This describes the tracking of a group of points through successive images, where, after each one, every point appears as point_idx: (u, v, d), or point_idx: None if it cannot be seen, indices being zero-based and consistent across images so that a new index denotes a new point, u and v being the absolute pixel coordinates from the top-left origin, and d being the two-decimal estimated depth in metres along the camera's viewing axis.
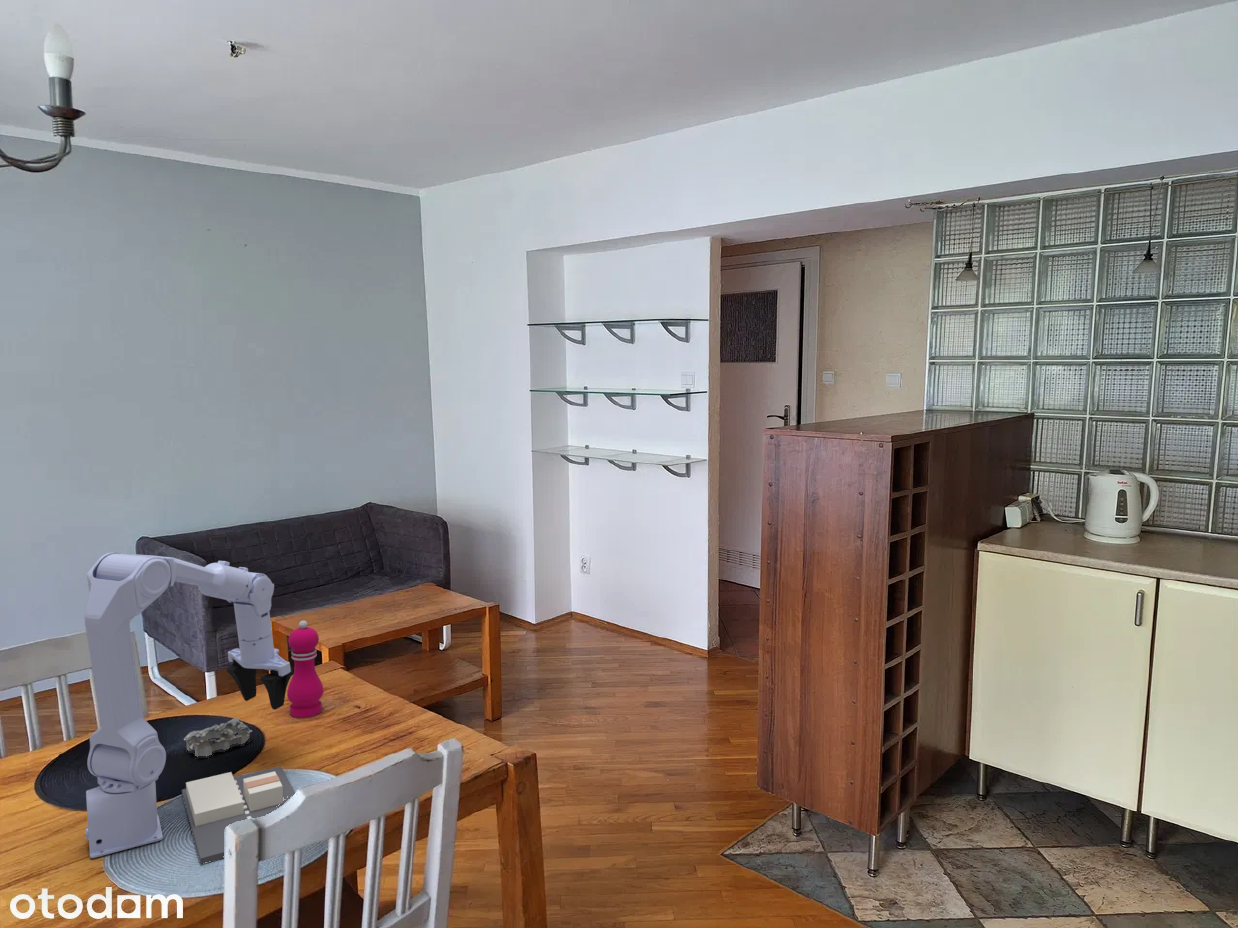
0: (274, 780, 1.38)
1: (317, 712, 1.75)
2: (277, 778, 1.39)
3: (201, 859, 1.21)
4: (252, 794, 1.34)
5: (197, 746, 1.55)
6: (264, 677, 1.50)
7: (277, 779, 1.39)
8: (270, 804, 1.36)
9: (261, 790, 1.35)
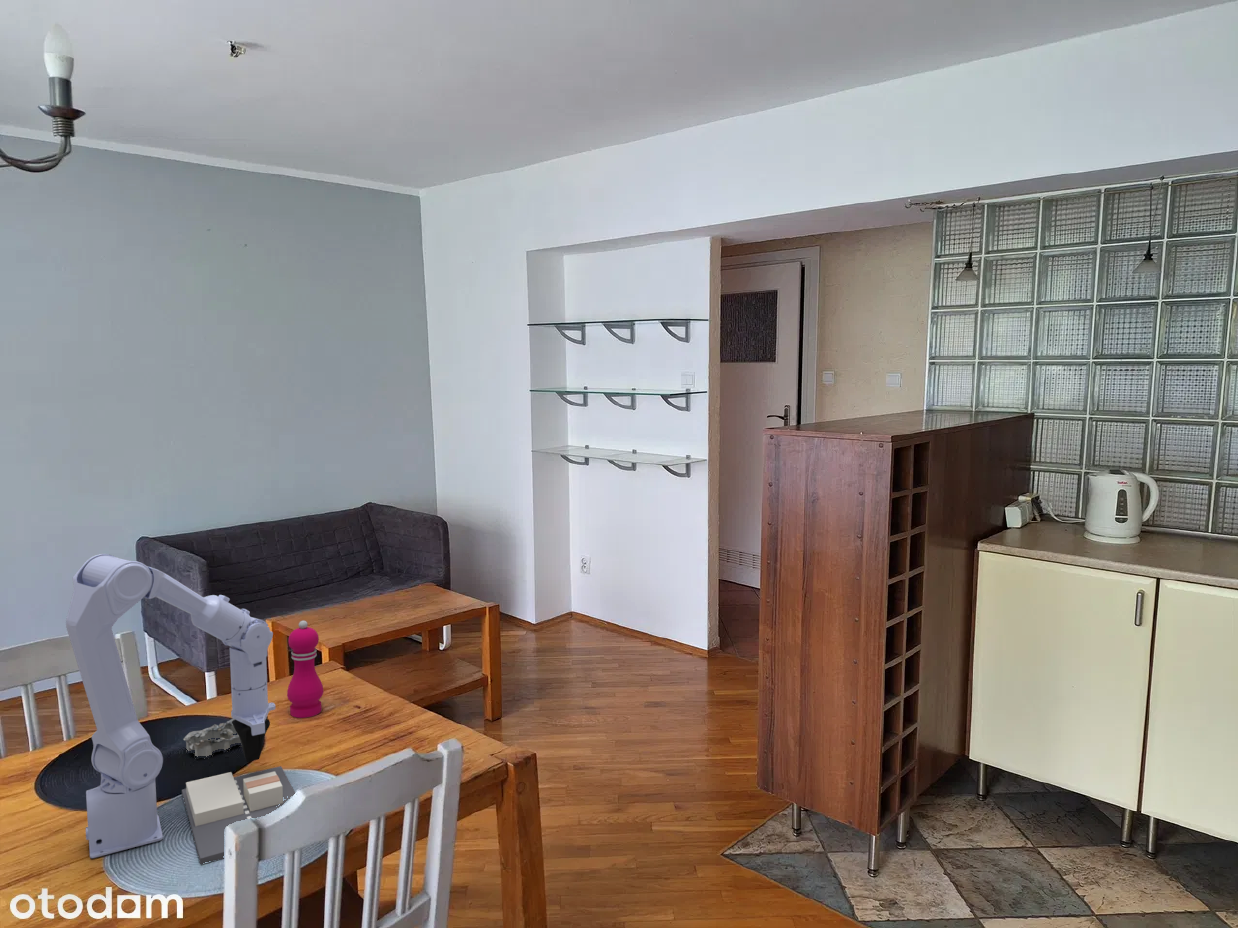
0: (274, 780, 1.38)
1: (317, 712, 1.75)
2: (277, 778, 1.39)
3: (201, 859, 1.21)
4: (252, 794, 1.34)
5: (197, 746, 1.55)
6: (236, 724, 1.43)
7: (277, 779, 1.39)
8: (270, 804, 1.36)
9: (261, 790, 1.35)
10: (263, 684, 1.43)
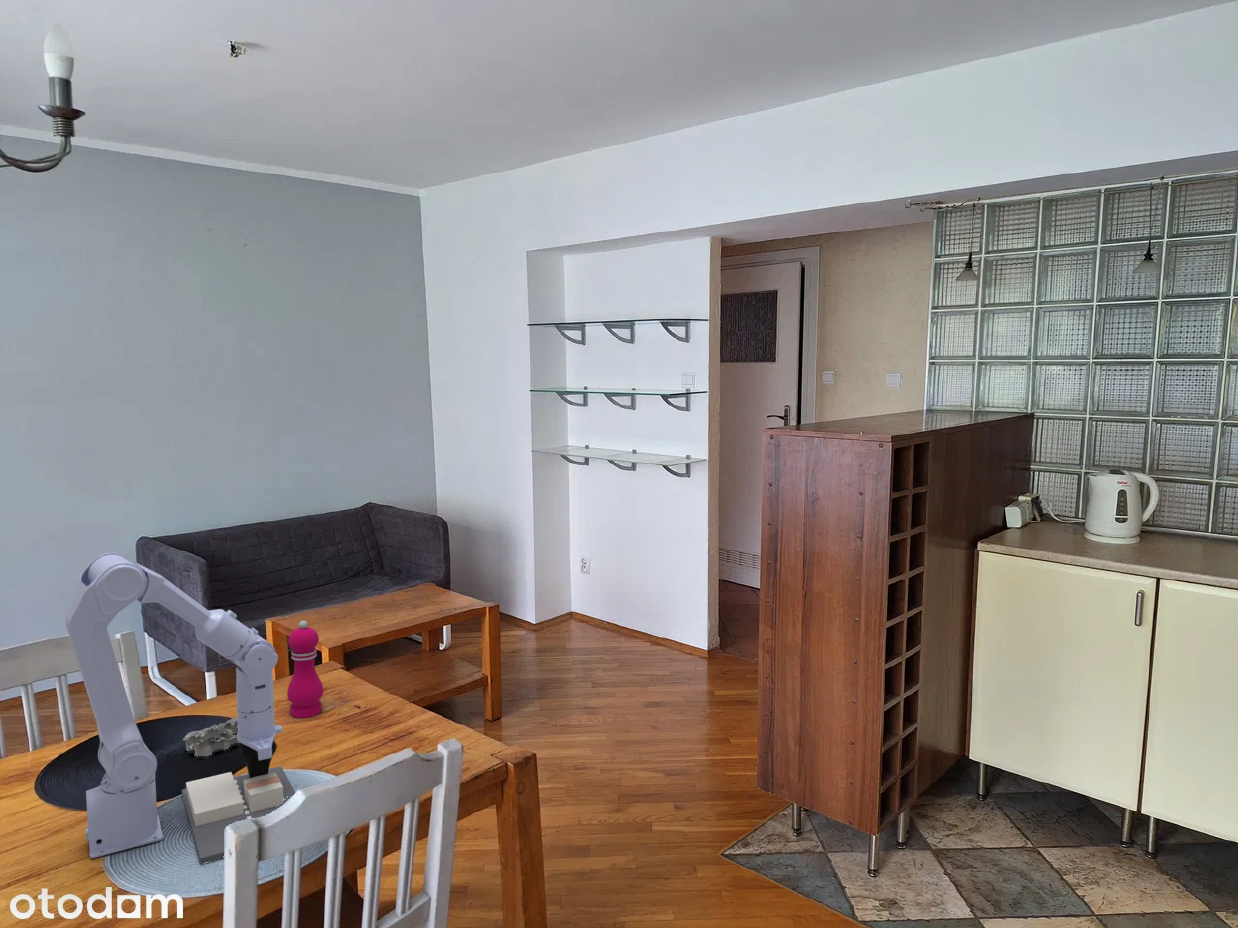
0: (274, 781, 1.38)
1: (317, 712, 1.75)
2: (277, 779, 1.39)
3: (201, 859, 1.21)
4: (252, 795, 1.34)
5: (197, 746, 1.55)
6: (242, 748, 1.39)
7: (277, 780, 1.38)
8: (270, 805, 1.36)
9: (262, 791, 1.35)
10: (267, 708, 1.38)
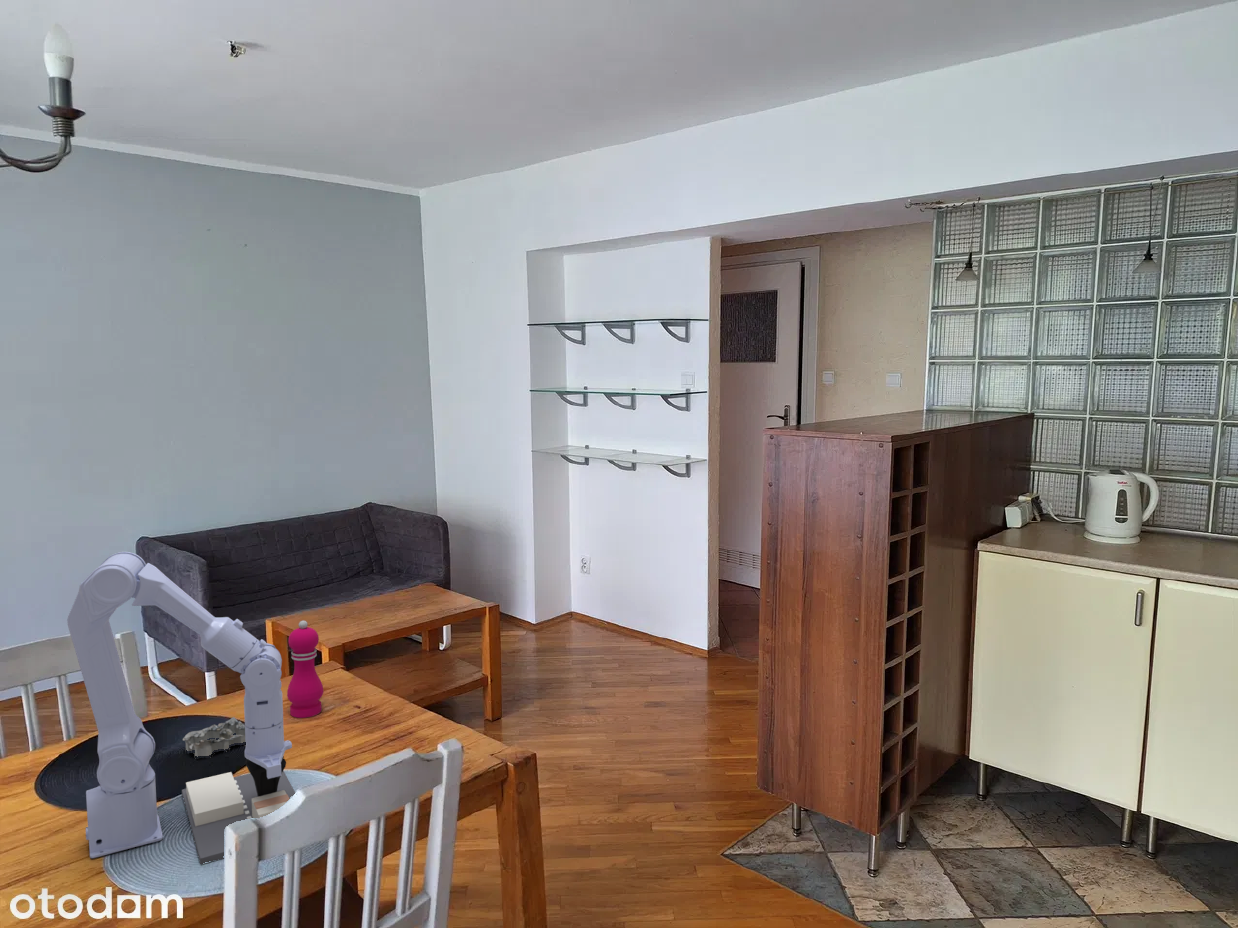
0: (284, 800, 1.32)
1: (317, 712, 1.75)
2: (287, 797, 1.33)
3: (201, 859, 1.21)
4: (261, 815, 1.28)
5: (197, 746, 1.55)
6: (250, 765, 1.33)
7: (287, 799, 1.32)
8: None
9: (271, 810, 1.29)
10: (269, 725, 1.32)
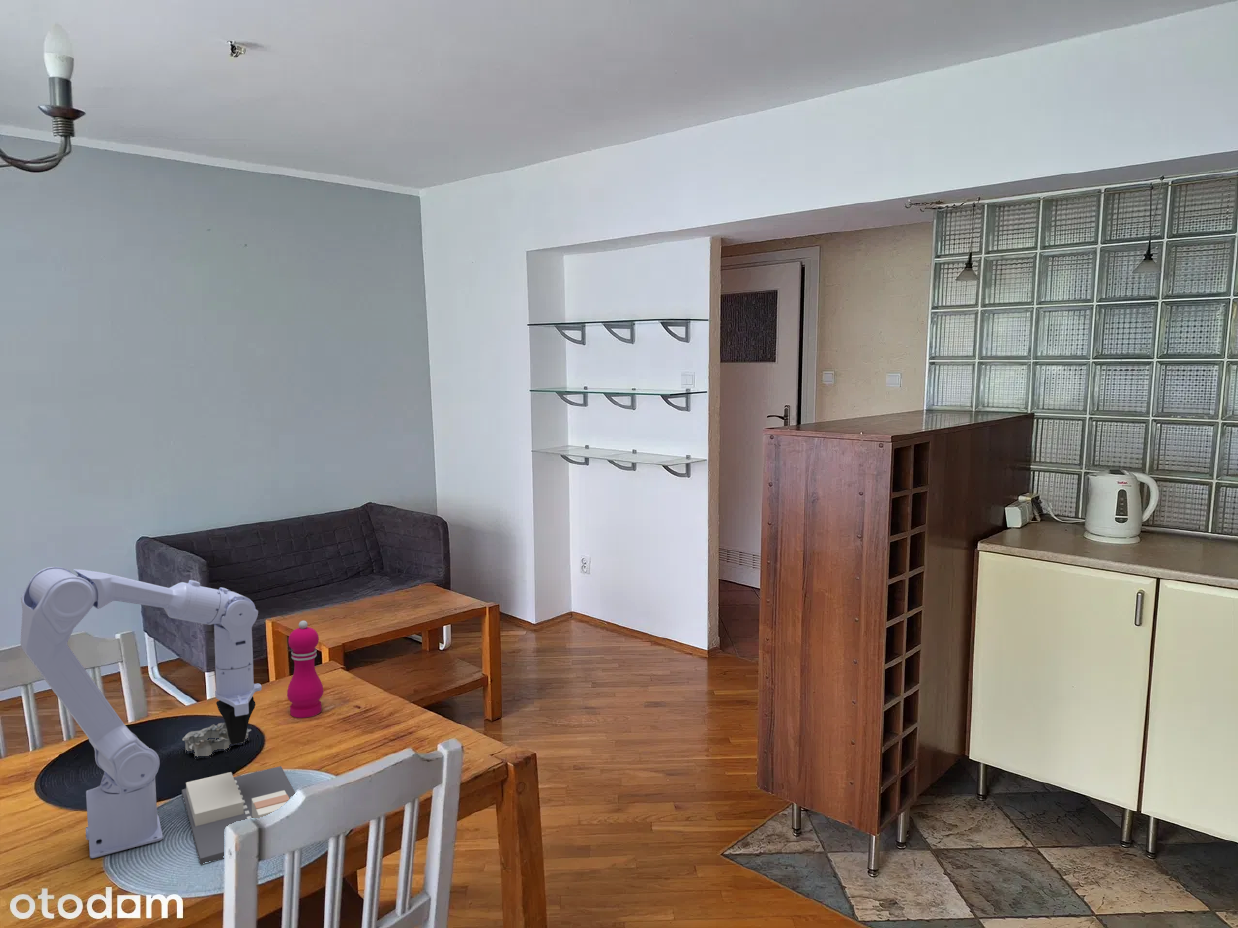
0: (284, 800, 1.32)
1: (317, 712, 1.75)
2: (287, 798, 1.32)
3: (201, 859, 1.21)
4: (261, 815, 1.28)
5: (197, 746, 1.55)
6: (220, 705, 1.37)
7: (287, 799, 1.32)
8: None
9: (271, 810, 1.29)
10: (247, 664, 1.37)
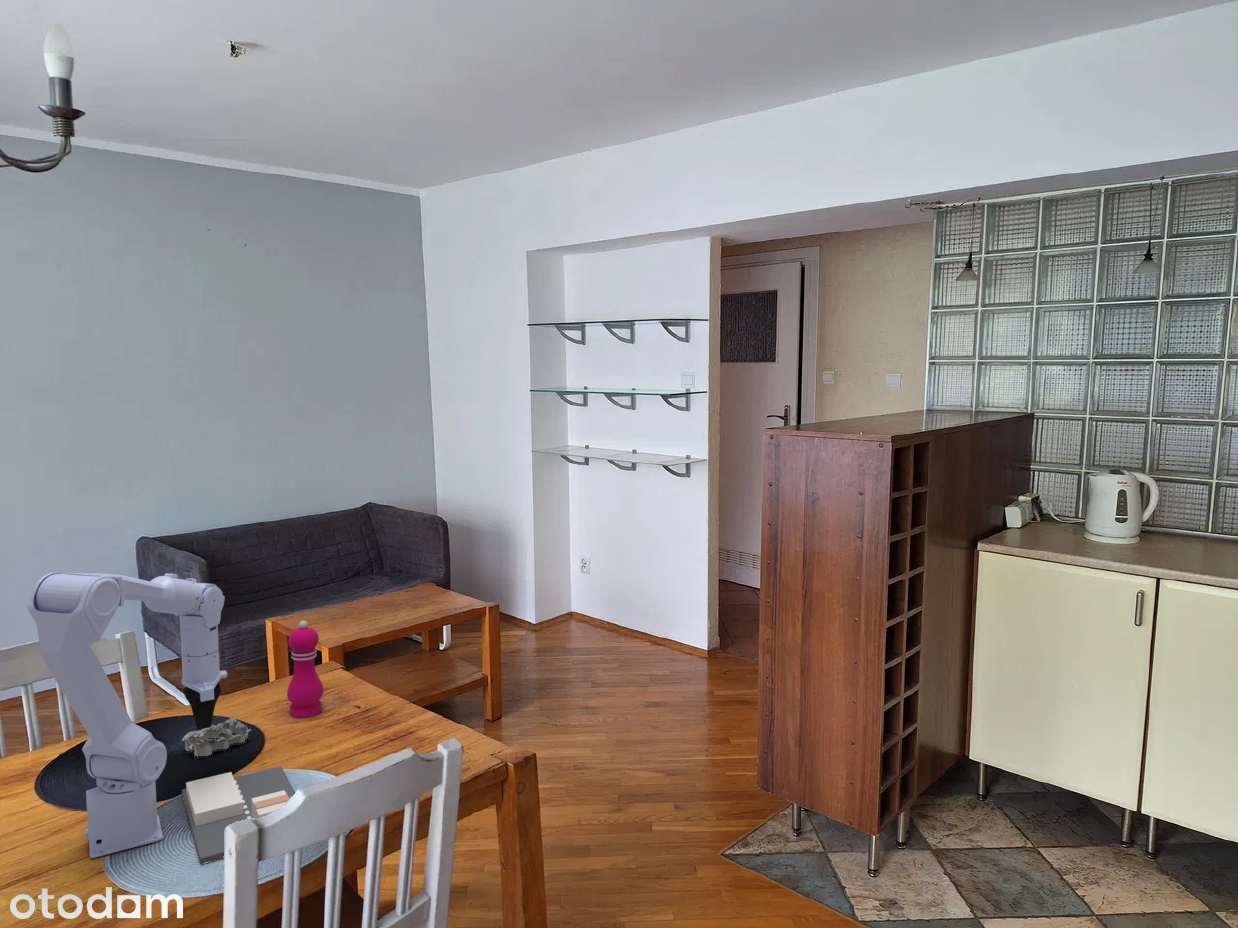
0: (284, 800, 1.32)
1: (317, 712, 1.75)
2: (287, 798, 1.32)
3: (201, 859, 1.21)
4: (261, 815, 1.28)
5: (197, 746, 1.55)
6: (187, 691, 1.41)
7: (287, 799, 1.32)
8: None
9: (271, 810, 1.29)
10: (217, 649, 1.43)
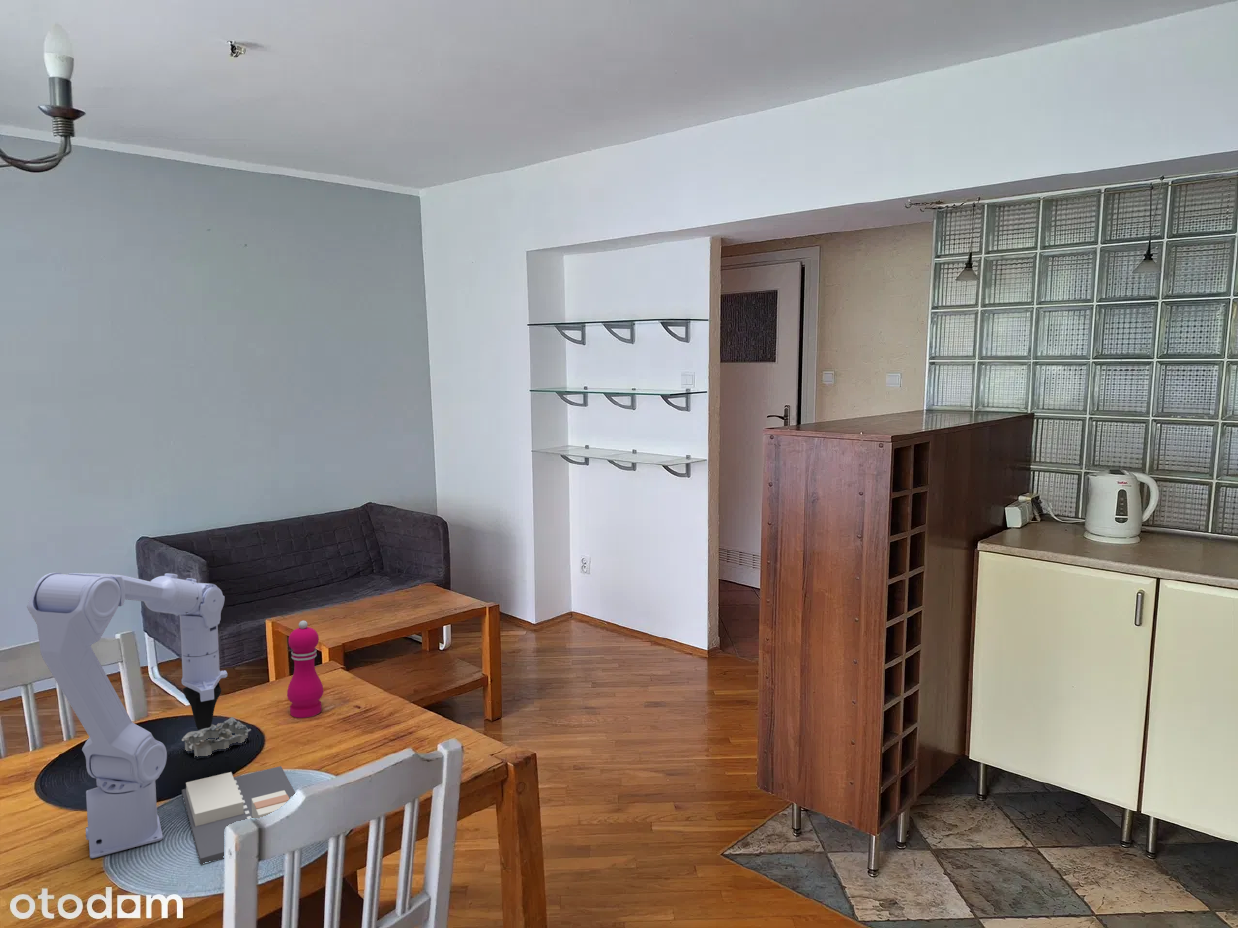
0: (284, 800, 1.32)
1: (317, 712, 1.75)
2: (287, 798, 1.32)
3: (201, 859, 1.21)
4: (261, 815, 1.28)
5: (197, 746, 1.55)
6: (187, 691, 1.41)
7: (287, 799, 1.32)
8: None
9: (271, 810, 1.29)
10: (217, 649, 1.43)
